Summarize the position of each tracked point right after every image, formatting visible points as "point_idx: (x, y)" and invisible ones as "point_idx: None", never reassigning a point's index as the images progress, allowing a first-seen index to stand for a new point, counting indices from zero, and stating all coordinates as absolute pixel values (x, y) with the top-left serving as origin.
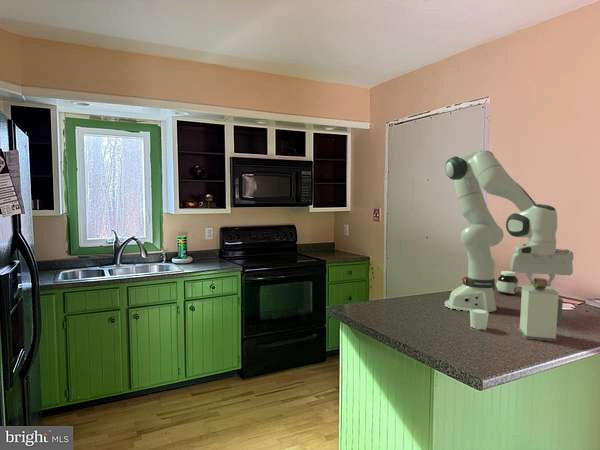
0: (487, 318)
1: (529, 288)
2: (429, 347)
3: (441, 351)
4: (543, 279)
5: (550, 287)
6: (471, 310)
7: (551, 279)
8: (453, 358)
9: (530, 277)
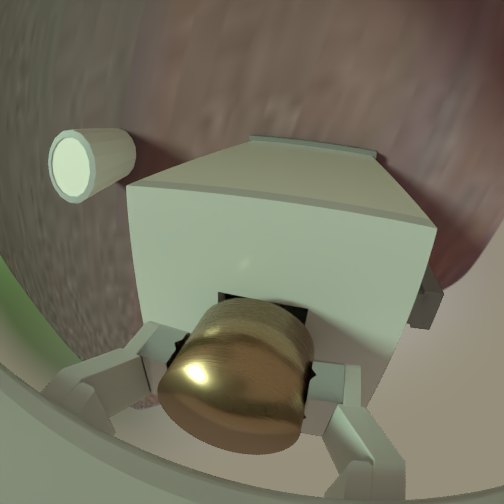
0: (109, 175)
1: (170, 318)
2: (53, 310)
3: (70, 328)
4: (262, 433)
5: (426, 259)
6: (51, 169)
7: (342, 465)
8: (91, 355)
9: (113, 412)
